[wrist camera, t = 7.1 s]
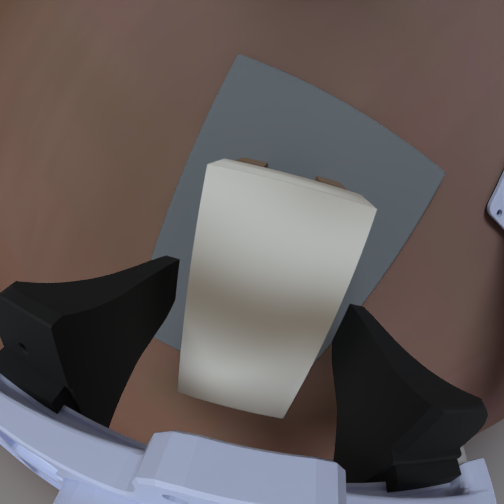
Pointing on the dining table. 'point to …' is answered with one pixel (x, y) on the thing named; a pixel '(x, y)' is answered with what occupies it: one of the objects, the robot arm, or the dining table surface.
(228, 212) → the cream block with tabs
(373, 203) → the mat
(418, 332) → the dining table surface
